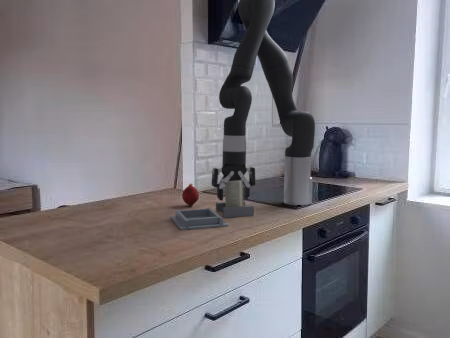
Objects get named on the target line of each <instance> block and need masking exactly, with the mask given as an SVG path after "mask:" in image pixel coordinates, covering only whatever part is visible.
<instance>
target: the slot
mask: <svg viewBox="0 0 450 338" xmlns="http://www.w3.org/2000/svg"><path fill="white" fill-rule="evenodd" d="M243 202H244V206H239V207H226V201H222V202H221V201H220V202H219V201H218V202H215V212H216V213H222V218H223V219H226V218H238V217H240V218H241V217H253V216H255V206H254V205H246V201H245V200H243Z"/></svg>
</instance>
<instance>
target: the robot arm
mask: <svg viewBox="0 0 450 338" xmlns="http://www.w3.org/2000/svg"><path fill="white" fill-rule="evenodd" d="M275 4H276V2H275V0H239V1H238V7H237V9H238V14H239V17H240V21H242V22H241V23H242V25H243V26H244V28H245V30H246V32H245V33H244V36H243V37H242V39H241V41H240V43H239V44H238V46H237V48H236V50H235V52H234V56H233V58H232V59H233V60H232V64H231V67H230V72H229V73H228V75H227V76H226V78H225V80H224V82H223V84H222V86H221V88H220V91H219V94H218V100H219V101H218V102H219V105H221V107H222V108H223V109H227V110H234V111H233V114H232V115H230V116H227V117H225V118H224V120H223V140H222V159H221V160H222V164H221V166H222V167H221V168H218V167H213V168H212V172H211V173H212V174H211V186H212V187H214V188H215V189H217V191H216V193H217V194H216V195H217V199H218V200H219V201H224V189H223V188H225V187H224V186H225V184H226V183H227V182H228V181H235V180H242V181H243V200H248V198H250V193H251V192H250V191H251V189H250V188H251V187H254V186H255V185H256V168H255V167H253V166H249V167H247V166H246V164H247V163H246V161H247V137H246V132H247V120H248V116H249V113H250V109H251V106H252V101H253V96H252V93H251V89H250V88H249V87H248V86H245V85H243V84H245V83H248V82H250V81H251V79H252V76H253V72H254V68H255V65H256V59H257V58H258V60H259V62H260V66H261V68H262V72H263V74H264V77H265V80H266V82H267V84H268V87H269V89H270V93H271V95H272V98H273V101H274V103H275V108H276V111H277V114H278V119H279V122H280V126H281V129H282V130H283V132H284V134H285V135H286V136H288V137H290V138H292V139H291V144H290V145H289V146H288V147H286V148H285V150H284V175H283V176H284V180H283V181H284V182H283V183H284V184H283V186H284V187H283V204H285V205H289V206H297V205H301V206H307V205H312V202H313V177H311V165H312V164H311V163H312V151H313V149H314V144H315V134H316V122H315V118H314V115H312V113H310V112H309V111H302V110H301V111H298V109H297V107H296V104H295V101H294V97H293V85H294V84H293V82H294V80H293V79H294V74H293V69H292V67H291V64H290V62H289V61H290V60H289V58H288V55H287V53H286V52H285V51H284V50H283V48H281V46H279V44H277V43H276V41H274V40H273V38H272V37H271V36H270V35H269V33H268V31H267V29H268V26H269V24H270V21H271V19H272V17H273V15H274V11H275ZM246 173H247V174H248V179H249V181H248V179H247V178H246V177H245V175H246ZM220 174H222V175H223V176H221V178H220V180H219V179H218V178H219V176H220ZM218 180H219V182H218Z"/></svg>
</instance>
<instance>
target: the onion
mask: <svg viewBox="0 0 450 338" xmlns="http://www.w3.org/2000/svg"><path fill="white" fill-rule="evenodd" d="M199 194H200V193H199V191H198V190H197V188H196V187H194V186H193V183H189V184H188V186H186V187H185V188H184V189H183V191H182V200H183V202H184V203H185V204H186V205H188V206H189V207H192V206H193V205H194V204H196V202H198V200H199V197H200V195H199Z"/></svg>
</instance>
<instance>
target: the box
mask: <svg viewBox="0 0 450 338" xmlns="http://www.w3.org/2000/svg"><path fill="white" fill-rule="evenodd" d="M224 186H225V187H224V188H225V190H224V192H225V193H224V195H225V202H226V207H239V206H244V202H243V201H244V185H243V181H242V180H235V181H228V182H227V183H226V184H225V185H224Z"/></svg>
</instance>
